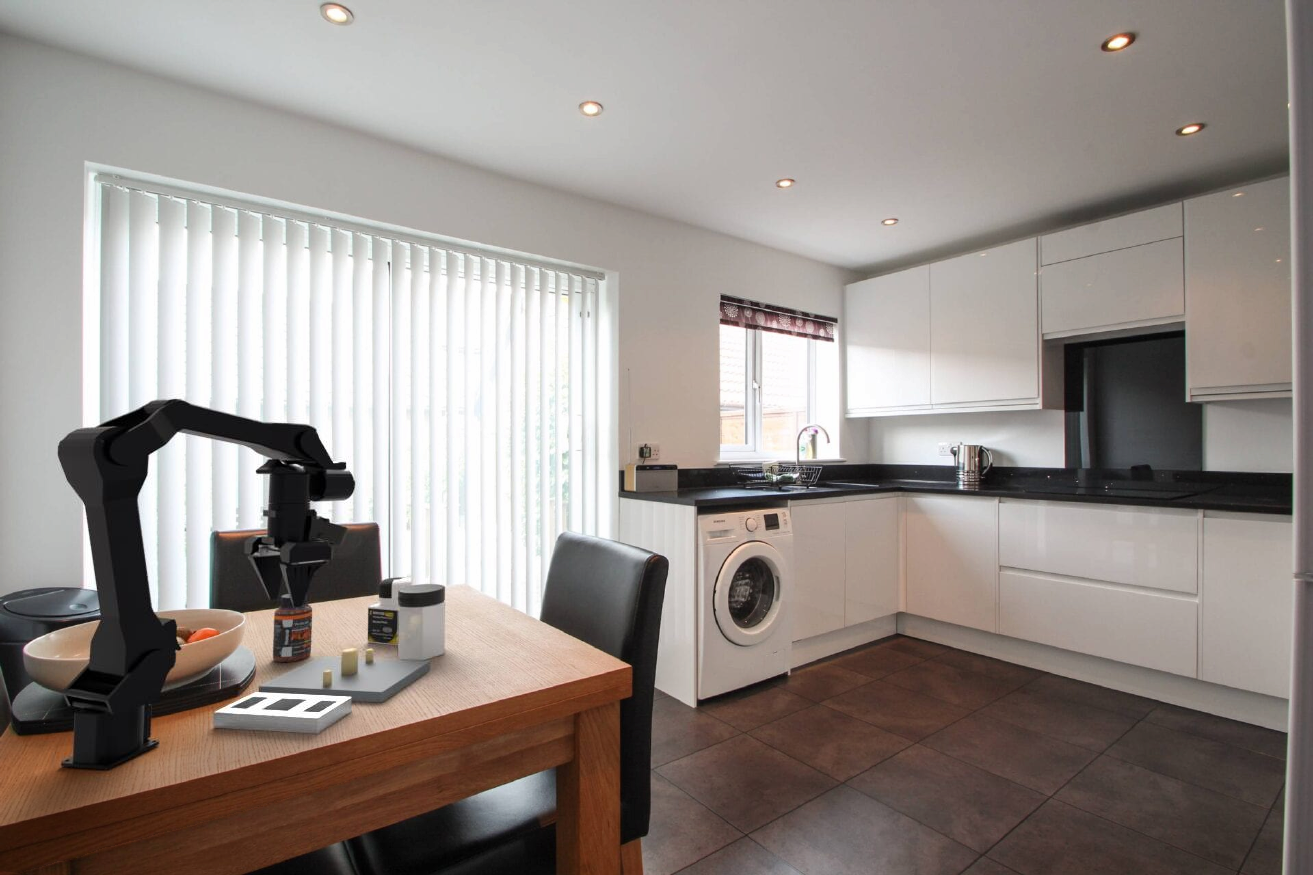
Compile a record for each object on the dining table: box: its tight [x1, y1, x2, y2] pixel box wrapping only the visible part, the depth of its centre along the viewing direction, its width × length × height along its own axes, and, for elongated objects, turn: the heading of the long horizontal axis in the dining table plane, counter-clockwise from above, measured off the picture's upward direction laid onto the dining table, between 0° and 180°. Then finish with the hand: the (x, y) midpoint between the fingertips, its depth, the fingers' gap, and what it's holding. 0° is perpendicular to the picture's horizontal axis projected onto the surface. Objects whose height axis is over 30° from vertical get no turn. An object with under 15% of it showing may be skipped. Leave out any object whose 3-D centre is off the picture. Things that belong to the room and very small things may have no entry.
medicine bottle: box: [367, 576, 413, 646], centre depth 120 cm, size 7×7×12 cm
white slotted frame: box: [213, 691, 352, 734], centre depth 82 cm, size 15×7×2 cm, turn 83°
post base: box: [258, 647, 431, 703], centre depth 96 cm, size 14×20×5 cm
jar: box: [397, 583, 446, 661], centre depth 111 cm, size 9×8×12 cm
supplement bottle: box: [272, 593, 313, 663], centre depth 109 cm, size 6×6×11 cm
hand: (285, 602), depth 94 cm, fingers open, 9 cm apart
